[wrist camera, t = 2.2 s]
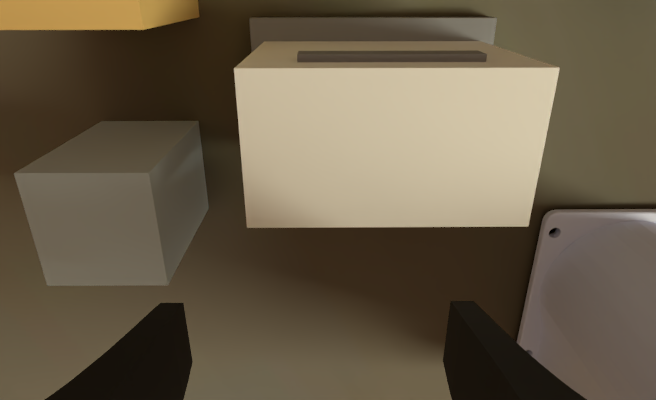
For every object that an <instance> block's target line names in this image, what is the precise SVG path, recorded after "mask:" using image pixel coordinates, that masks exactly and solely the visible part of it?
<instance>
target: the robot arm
mask: <svg viewBox="0 0 656 400" xmlns="http://www.w3.org/2000/svg"><path fill="white" fill-rule="evenodd" d="M553 228H557V229H556V231H555V232H554V233H552V234H549V232H550V230H551V229H553ZM527 350H529V351H527ZM526 351H527V352H526ZM443 362H444V367H445V372H446V376H447V381H448V385H449V390H450V394H451V397H452V400H656V209H557V210H551V211H549V212H547V213H546V214H545V215H544V217H543V220H542V224H541V229H540V234H539V239H538V243H537V248H536V253H535V257H534V262H533V267H532V272H531V276H530V281H529V286H528V291H527V295H526V300H525V305H524V310H523V314H522V319H521V324H520V329H519V333H518V338H517V343H516V342H515V341H514V340H513V339H512V338H511V337H510V336H509V335H508V334H507V333H506V332H505V331H504V330H503V329H502V328H501V327H500V326H498V325H497V324H496V323H495V322H494V321H493V320H492V319H491V318H490V317H489V316H488V315H487V314H486V313H485V312H484V311H483V310H482V309H481V308H480V307H479V306H478V305H477V304H476V303H475V302H474V301H451V303H450V311H449V319H448V326H447V334H446V342H445V349H444V357H443ZM191 366H192V356H191V350H190V343H189V337H188V331H187V324H186V318H185V311H184V305H183V303H160V304H159V305H158V306H157V307H155V308H154V309H153V310H152V311H151V312H150V313H149V314H148V315H147V316H146V317H144V318H143V319H142V320H141V321H140V322H139V323H138V324H137V325H136V326H135V327H134V328H133V329H131V330H130V331H129V332H128V333H127V334H126V335H125V336H124V337H123V338H121V339H120V340H119V341H118V342H117V343H116V344H115V345H114V346H112V347H111V348H110V349H109V350H108V351H107V352H106V353H104V354H103V355H102V356H101V357H100V358H98V359H97V360H96V361H95V362H93V363H92V364H91V365H90V366H89V367H87V368H86V369H85V370H84V371H82V372H81V373H80V374H79V375H77V376H76V377H75V378H74V379H73V380H71V381H70V382H69V383H67V384H66V385H65V386H63V387H62V388H61V389H59V390H58V391H56V392H55V393H54V394H52V395H51V396H49V397H48V398H47V399H45V400H183V399H184V395H185V391H186V387H187V383H188V379H189V375H190V370H191Z"/></svg>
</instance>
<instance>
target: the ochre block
mask: <svg viewBox="0 0 656 400" xmlns="http://www.w3.org/2000/svg"><path fill="white" fill-rule="evenodd" d="M198 17H200V16H199V7H198V0H0V30H145V29H149V28H154V27H158V26H163V25H167V24H171V23H176V22H180V21H185V20H189V19H193V18H198Z"/></svg>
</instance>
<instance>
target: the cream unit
mask: <svg viewBox="0 0 656 400" xmlns="http://www.w3.org/2000/svg"><path fill="white" fill-rule="evenodd" d="M496 21H497V18H495V17H251V18H249V23H250V38H251V54H250V55H248V56H247V57H246V58H245V59H244V60H243V61H242V62H241V63H239V64H238V65H237V66H236V67H235V68H234V76H235V89H236V101H237V113H238V125H239V137H240V150H241V162H242V174H243V186H244V198H245V211H246V223H247V228H334V227H528V226H529V221H530V216H531V211H532V206H533V201H534V196H535V190H536V185H537V180H538V175H539V170H540V165H541V160H542V155H543V150H544V145H545V140H546V135H547V130H548V125H549V120H550V115H551V110H552V105H553V100H554V95H555V89H556V84H557V79H558V74H559V69H560V68H559V67H556V66H553V65H550V64H547V63H544V62H541V61H538V60H535V59H532V58H529V57H526V56H523V55H520V54H517V53H514V52H512V51H509V50H506V49H503V48H500V47H497V46H494V45H493V43H494V36H495V29H496Z"/></svg>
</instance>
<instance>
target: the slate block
mask: <svg viewBox="0 0 656 400" xmlns="http://www.w3.org/2000/svg"><path fill="white" fill-rule="evenodd" d="M14 176H15V179H16V183H17V186H18V189H19V193H20V196H21V199H22V203H23V206H24V209H25V213H26V216H27V219H28V223H29V226H30V230H31V233H32V236H33V240H34V243H35V246H36V250H37V253H38V256H39V260H40V263H41V266H42V270H43V273H44V276H45V280H46V283H47V286H138V285H168V284H169V283H170V281H171V279H172V277H173V275H174V273H175V271H176V269H177V267H178V265H179V264H180V262H181V260H182V258H183V256H184V254H185V252H186V250H187V248H188V247H189V245H190V243H191V241H192V239H193V237H194V235H195V233H196V231H197V230H198V228H199V226H200V224H201V222H202V220H203V218H204V216H205V214H206V213H207V211H208V209H209V205H208V197H207V188H206V180H205V171H204V163H203V154H202V146H201V137H200V129H199V121H101V122H99V123H98V124H96V125H94V126H92V127H91V128H89V129H87V130H86V131H84V132H82V133H81V134H79V135H77V136H76V137H74V138H72V139H71V140H69V141H67V142H66V143H64V144H62V145H61V146H59V147H57V148H55V149H54V150H52V151H50V152H49V153H47V154H45V155H44V156H42V157H40V158H39V159H37V160H35V161H34V162H32V163H30V164H29V165H27V166H25V167H24V168H22V169H20V170H18V171H17V172H15V173H14Z"/></svg>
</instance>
